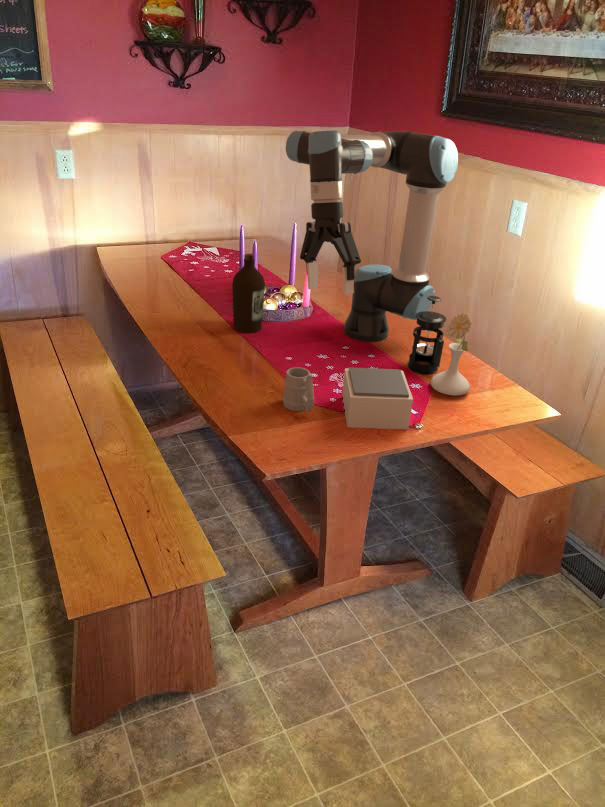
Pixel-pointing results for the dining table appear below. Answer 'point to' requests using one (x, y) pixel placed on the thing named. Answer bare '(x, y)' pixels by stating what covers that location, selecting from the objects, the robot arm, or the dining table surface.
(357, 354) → the dining table surface
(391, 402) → the stand
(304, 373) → the mug
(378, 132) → the robot arm
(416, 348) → the french press
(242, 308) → the olive oil
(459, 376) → the flower in vase
